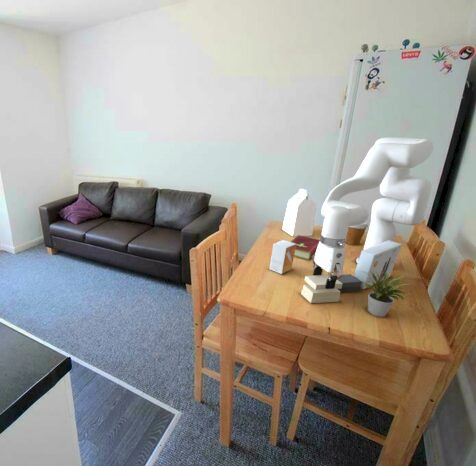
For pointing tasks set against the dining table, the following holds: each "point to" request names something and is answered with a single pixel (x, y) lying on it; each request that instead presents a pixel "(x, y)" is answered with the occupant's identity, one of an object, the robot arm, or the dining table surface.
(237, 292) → the dining table surface
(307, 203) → the milk
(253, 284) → the dining table surface
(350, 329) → the dining table surface
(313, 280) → the cream book
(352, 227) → the disposable coffee cup
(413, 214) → the robot arm
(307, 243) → the hardcover book
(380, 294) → the house plant
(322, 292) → the cream book stack
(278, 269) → the small box
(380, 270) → the skincare box
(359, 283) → the grey book stack
